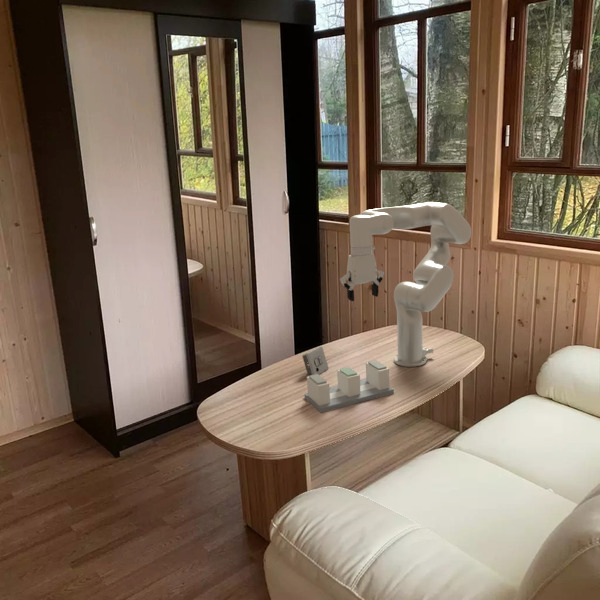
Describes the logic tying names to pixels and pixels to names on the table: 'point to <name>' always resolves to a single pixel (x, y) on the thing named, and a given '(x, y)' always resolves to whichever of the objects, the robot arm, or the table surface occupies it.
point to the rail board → (342, 399)
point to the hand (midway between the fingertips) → (363, 298)
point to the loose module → (348, 381)
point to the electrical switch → (315, 361)
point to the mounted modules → (374, 375)
